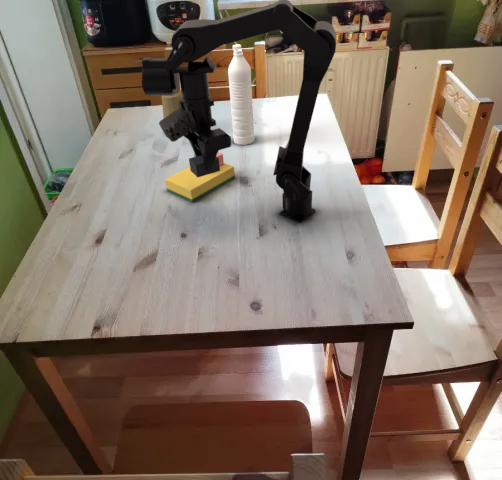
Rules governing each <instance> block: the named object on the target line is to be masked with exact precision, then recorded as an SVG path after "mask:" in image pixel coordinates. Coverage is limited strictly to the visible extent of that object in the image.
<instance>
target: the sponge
mask: <svg viewBox="0 0 502 480" xmlns="http://www.w3.org/2000/svg"><path fill="white" fill-rule="evenodd" d="M235 178H236V177H235V166H233V165H231V164H228V163H225V162H224V165H222V166H220V171H218V172H214V173H211V174H208V175H204V176H201V177H197V176H196V175H195V174H193V173H192V172H191V170H190V166H188V167H186V168H184V169H182V170H180V171H178V172H176V173H174V174H172V175H171V176H168V177H167V178H165V180H164V181H165V186H166V191H167V192H169V193H170V194H173V195H174V196H177V197H180V198H181V199H184V200H185V201H189V202H190V203H194V202H196V201H198V200H199V199H201V198H203V197H205V196H206V195H208V194H210V193H211V192H214V191H216V190H217V189H219V188H220V187H222V186H224V185H225V184H227V183H229V182H232V181H233V180H234V179H235Z"/></svg>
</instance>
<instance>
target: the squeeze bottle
mask: <svg viewBox="0 0 502 480" xmlns="http://www.w3.org/2000/svg"><path fill="white" fill-rule="evenodd" d="M180 99H182V91H181V89H179V90H175V94H174V95H173V96H161V102H162V103H161V105H162V115H163V119H164V118H165V117H167V116H168V115H169V114H171V113H172V112H174V111H176V110H178V109H179V102H180Z"/></svg>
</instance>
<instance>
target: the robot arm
mask: <svg viewBox="0 0 502 480" xmlns="http://www.w3.org/2000/svg"><path fill="white" fill-rule="evenodd" d="M275 31H280V32H281V33H283V34H284V35H285V36H286V37H287V38H288V39H289V40H290V41H291V42H292V43H293V44H294V46H296V47H298V48H299V49H300V50H302V51H303V64H302V80H301V84H300V89H299V94H298V97H297V101H296V106H295V111H294V116H293V120H292V125H291V129H290V133H289V137H288V141H287V143H286V145H285V147H283V146H278V151H277V157H276V160H275V165H274V169H273V176H275V183H276V184H277V186H278V187H279V188H280V189H281V190H283V192H282V210H281V211H279V215H280V216H281V217H284V218H287V219H288V220H291V221H294V222H297V223H299V224H301V223H302V222H304V221H305V220H306V219H308V218H309V217H311V216H312V215H313V214H315V213H316V209H315V208H313V190H311V183H312V181H311V180H312V173H311V172H310V171H309V170H308V169H307V168H306V167H305V166H304V155H305V154H304V152H305V146H306V142H307V137H308V134H309V130H310V126H311V122H312V118H313V115H314V110H315V107H316V104H317V99H318V94H319V90H320V88H321V87H320V86H321V85H322V82H323V79H324V78H325V76H326V74H327V72H328V70H329V68H330V65H331V63H332V61H333V58H334V56H335V53H336V51H337V50H336V49H337V32H336V30H335V28H334V26H333V25H332V24H331V23H330V22H328V21H326V20H320V21H319V20H317V19H316V18H315V17H313V16H312V15H310V14H308V13H307V12H305V11H304V10H302V9H300V8H298V7H296V6H295V5H294V4H292V2H291V1H290V0H278V1H276V2H274V3H270V4H267V5H264V6H260V7H257V8H253V9H250V10H247V11H244V12H240V13H236V14H233V15H230V16H227V17H223V18H219V19H207V18H206V19H204V18H202V19H190V20H186V21H184V22H182V24H181V25H180V26H178V28H177V29H176V30H175V31H174V32H173V34H172V37H171V43H170V44H171V51H170V53H169V54H168V56H167V57H165V58H153V57H144V58H143V59H142V60H141V66H142V68H141V69H142V70H141V88H142V90H143V93H144V94H145V96H146V97H162V96H173V95H174V94H175V90H180V91H181V92H182V99H180V102H179V109H178V110H176V111H174V112H172V113H171V114H169V115H168V116H167V117H165V118H164V117H163V118H162V119H161V120H160V121H159V122H158V125H159V127H160V128H161V130H162V132H163V134H164V136H165V137H166V138H167V139H169V141H170V142H173V143H175V142H177V141H178V140H179V139H182V137H184V138H185V139H187V140H188V141H189V144H190V146H191V149H192V151H193V153H194V157H196V156H200V155H202V157H203V160H204V164H205V167H206V170H207V171H209V170H211V169H212V166H213V163H214V161H215V158H216V155H217V153H218V152H220V151H222V150H226V149H229V148H231V147H232V136H231V135H229V134H228V133H227V132H225V130H223V129H221V128H220V127H218V128H214V129H212V127H216V126H217V120H216V119H214V118H213V114H212V107H213V106H215V100H214V99H212V98H211V96H210V85H209V76H208V74H213V73H214V72H215V70H216V69H217V66H218V64H217V63H215V62H214V61H213V60H212V59H211V58H210V56H209V55H208V54H209V53H211V52H213V51H215V50H217V49H218V48H220V47H222V46H225V45H229V44H232V43H236V42H239V41H242V40H243V41H244V40H246V39H249V38H253V37H257V36H261V35H264V34H268V33H271V32H275ZM203 57H204V59H203V60H199V59H201V58H203ZM184 63H187V64H184ZM183 64H184V65H183Z"/></svg>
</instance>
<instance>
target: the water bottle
mask: <svg viewBox="0 0 502 480" xmlns="http://www.w3.org/2000/svg"><path fill="white" fill-rule="evenodd" d="M232 51H233V57H232V59H231V61H230V63H229V66H228V69H227V76H228V77H227V78H228V86H229V100H230V112H231V120H232V121H231V124H232V137H233V142H234V144H236V145H238V146H247V145H251V144H252V143H253V142H255V125H254V106H253V102H254V101H253V89H252V87H253V86H252V69H251V66H250V64H249V63H248V60H247V59H246V58H245V57H244V53H243V49H242V45H241V44H239V43H234V44H233V45H232Z"/></svg>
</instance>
